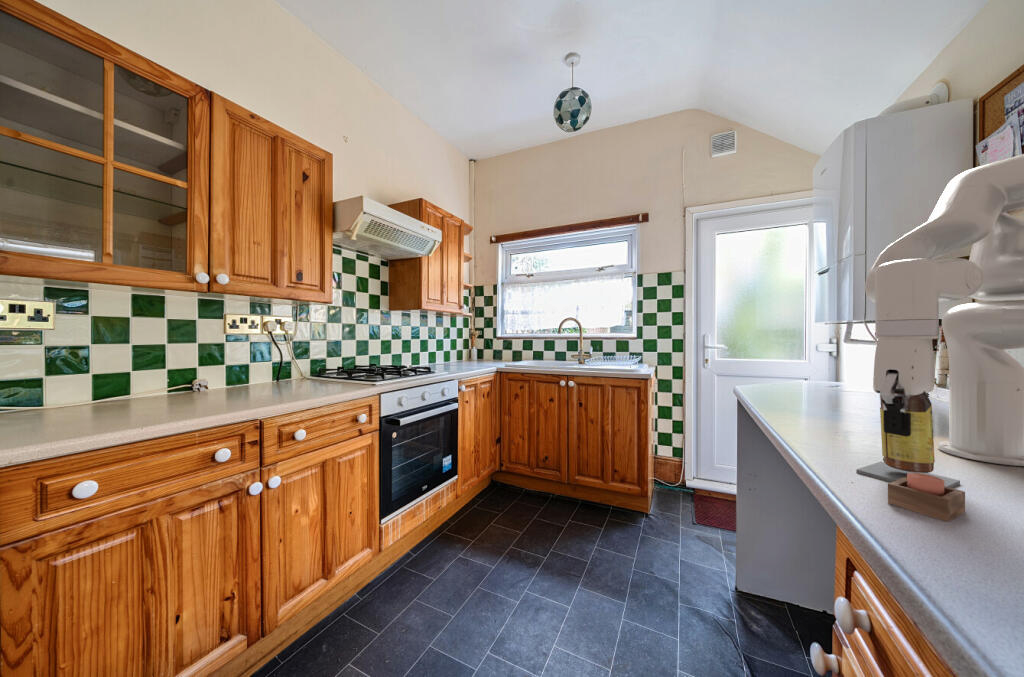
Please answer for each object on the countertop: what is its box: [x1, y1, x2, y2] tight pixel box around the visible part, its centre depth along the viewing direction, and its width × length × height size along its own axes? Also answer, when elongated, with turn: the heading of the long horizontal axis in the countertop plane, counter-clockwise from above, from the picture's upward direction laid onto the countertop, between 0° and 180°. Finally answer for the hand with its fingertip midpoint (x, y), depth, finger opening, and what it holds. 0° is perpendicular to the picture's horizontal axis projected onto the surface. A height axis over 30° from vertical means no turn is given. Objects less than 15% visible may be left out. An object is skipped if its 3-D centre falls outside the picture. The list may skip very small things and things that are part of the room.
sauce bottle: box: [879, 391, 936, 473], centre depth 63 cm, size 7×6×20 cm
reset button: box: [907, 473, 944, 497], centre depth 53 cm, size 4×4×2 cm
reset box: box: [887, 477, 966, 523], centre depth 53 cm, size 6×6×3 cm
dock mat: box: [855, 461, 961, 489], centre depth 63 cm, size 9×10×1 cm
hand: (906, 430), depth 63 cm, fingers closed on sauce bottle, 6 cm apart
